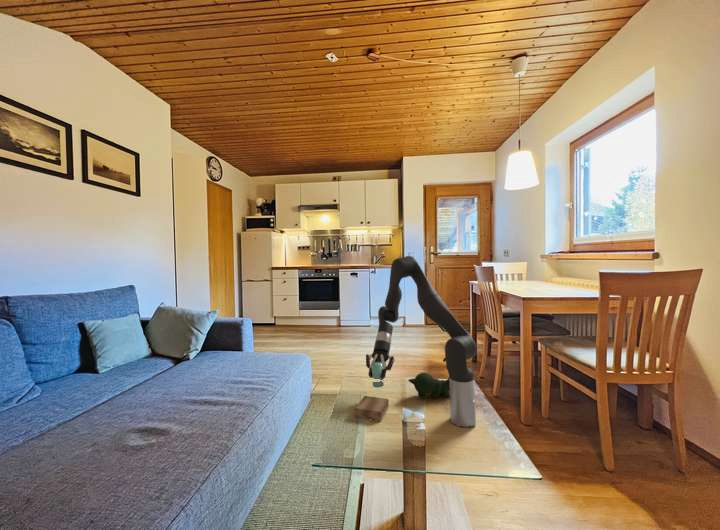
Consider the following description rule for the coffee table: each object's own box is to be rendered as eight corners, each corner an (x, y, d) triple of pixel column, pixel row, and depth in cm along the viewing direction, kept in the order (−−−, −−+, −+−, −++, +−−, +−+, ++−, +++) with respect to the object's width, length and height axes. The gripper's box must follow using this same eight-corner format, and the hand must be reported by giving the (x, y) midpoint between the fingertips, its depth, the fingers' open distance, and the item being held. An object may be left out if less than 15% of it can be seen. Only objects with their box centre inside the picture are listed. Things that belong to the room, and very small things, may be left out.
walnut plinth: (388, 408, 133) (388, 399, 133) (381, 421, 123) (380, 411, 123) (365, 404, 137) (364, 395, 137) (355, 417, 127) (355, 408, 127)
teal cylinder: (385, 383, 142) (383, 361, 141) (381, 387, 137) (380, 365, 137) (374, 382, 144) (373, 361, 143) (371, 386, 139) (369, 364, 139)
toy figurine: (453, 391, 149) (404, 393, 144) (455, 352, 148) (405, 353, 144) (463, 400, 139) (411, 403, 135) (465, 359, 139) (412, 360, 134)
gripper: (366, 338, 149) (358, 372, 139) (395, 340, 144) (389, 375, 133) (371, 346, 154) (363, 379, 144) (399, 347, 149) (393, 382, 138)
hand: (376, 377), depth 138 cm, fingers closed on teal cylinder, 5 cm apart
